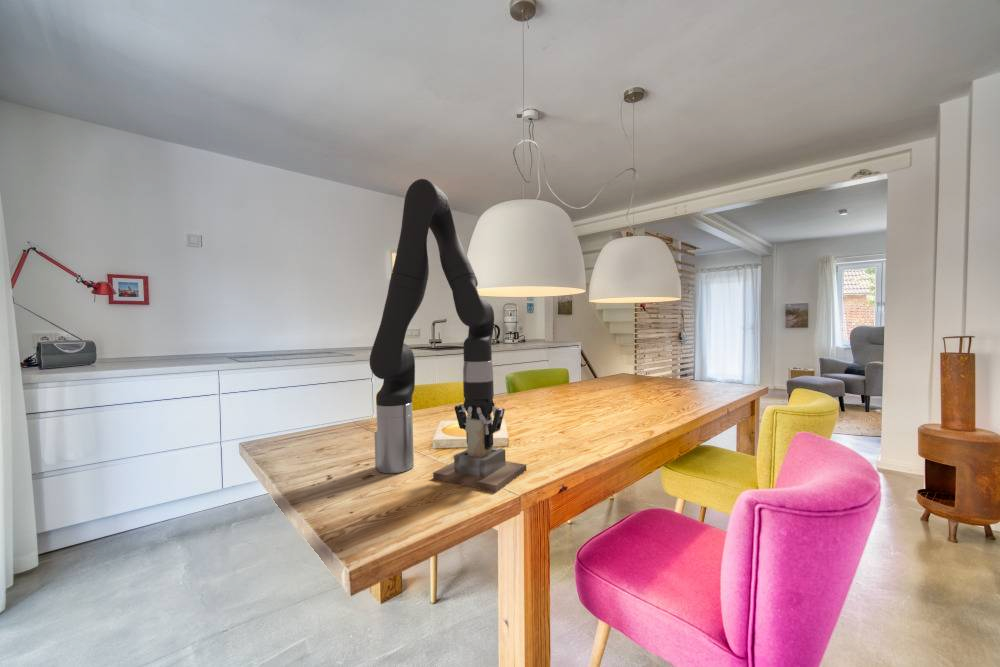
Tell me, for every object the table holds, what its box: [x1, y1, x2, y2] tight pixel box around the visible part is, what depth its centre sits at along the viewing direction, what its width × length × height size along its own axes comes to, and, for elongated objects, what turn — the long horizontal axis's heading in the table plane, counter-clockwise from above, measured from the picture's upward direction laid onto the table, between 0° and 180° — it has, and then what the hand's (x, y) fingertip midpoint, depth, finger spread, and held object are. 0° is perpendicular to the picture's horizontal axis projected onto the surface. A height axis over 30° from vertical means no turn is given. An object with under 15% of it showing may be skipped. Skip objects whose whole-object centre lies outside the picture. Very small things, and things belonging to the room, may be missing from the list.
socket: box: [432, 446, 527, 493], centre depth 97 cm, size 18×15×6 cm
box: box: [466, 418, 493, 458], centre depth 97 cm, size 5×4×11 cm
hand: (479, 447), depth 97 cm, fingers closed on box, 4 cm apart
